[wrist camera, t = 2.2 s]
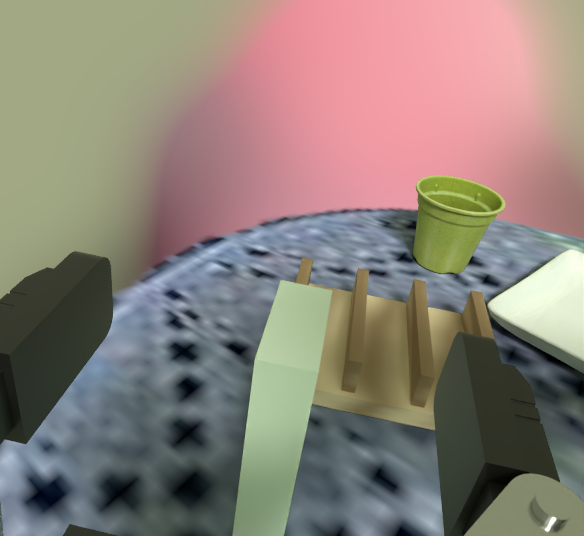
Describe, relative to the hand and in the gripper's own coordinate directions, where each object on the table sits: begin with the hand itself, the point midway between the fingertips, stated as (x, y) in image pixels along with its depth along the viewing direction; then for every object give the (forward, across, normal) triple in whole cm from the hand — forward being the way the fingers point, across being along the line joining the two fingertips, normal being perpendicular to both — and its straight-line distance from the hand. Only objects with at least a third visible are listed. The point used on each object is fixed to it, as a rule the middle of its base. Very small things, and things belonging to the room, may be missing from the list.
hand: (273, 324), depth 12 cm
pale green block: (+11, 0, +22) cm, 25 cm away
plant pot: (+46, -13, +22) cm, 53 cm away
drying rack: (+27, -7, +22) cm, 35 cm away
